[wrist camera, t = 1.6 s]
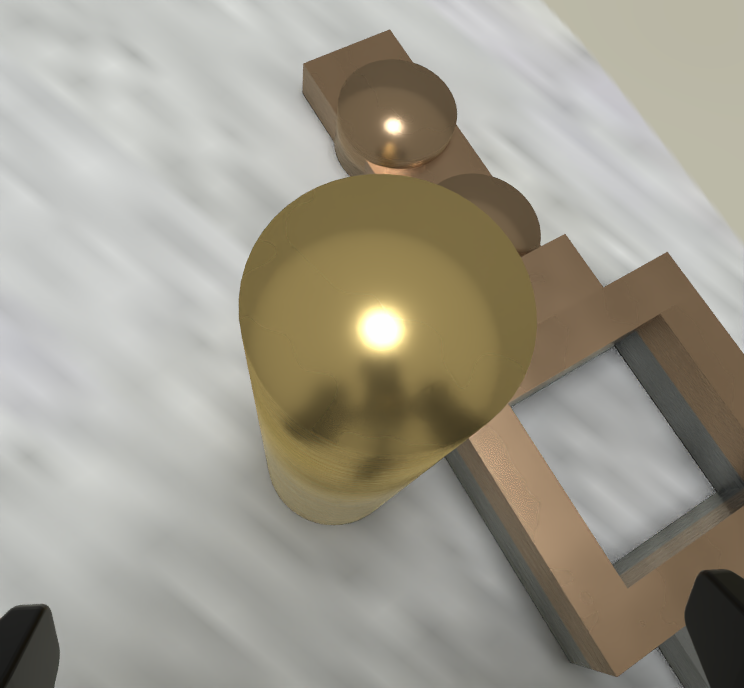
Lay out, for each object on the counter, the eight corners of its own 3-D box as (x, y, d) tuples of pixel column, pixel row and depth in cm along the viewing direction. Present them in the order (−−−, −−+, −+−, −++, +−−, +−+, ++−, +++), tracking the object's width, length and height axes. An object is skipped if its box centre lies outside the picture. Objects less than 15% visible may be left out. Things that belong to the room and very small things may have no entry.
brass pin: (423, 482, 21) (594, 362, 9) (308, 551, 20) (335, 515, 8) (357, 371, 22) (437, 133, 10) (244, 432, 21) (185, 246, 9)
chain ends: (1051, 887, 19) (1182, 941, 16) (843, 1112, 17) (953, 1218, 14) (440, 36, 27) (458, -28, 24) (239, 118, 24) (232, 58, 22)
